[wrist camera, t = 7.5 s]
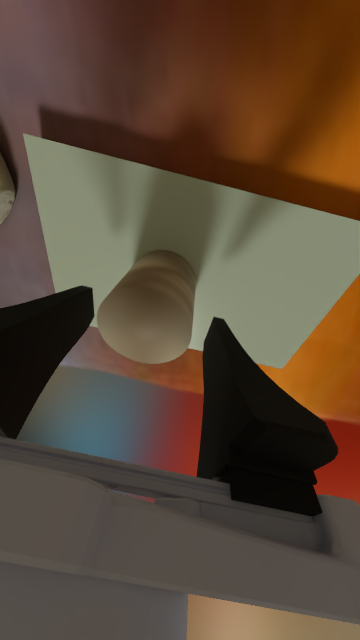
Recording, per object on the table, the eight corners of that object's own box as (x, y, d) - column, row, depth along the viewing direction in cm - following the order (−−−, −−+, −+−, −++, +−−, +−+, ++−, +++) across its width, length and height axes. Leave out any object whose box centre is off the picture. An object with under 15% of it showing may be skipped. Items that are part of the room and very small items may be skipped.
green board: (376, 225, 13) (394, 230, 11) (277, 357, 20) (281, 369, 19) (41, 138, 12) (23, 133, 11) (69, 310, 19) (60, 319, 18)
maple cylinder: (204, 261, 14) (205, 304, 9) (185, 316, 16) (178, 371, 12) (135, 240, 13) (96, 274, 8) (129, 300, 16) (96, 351, 11)
